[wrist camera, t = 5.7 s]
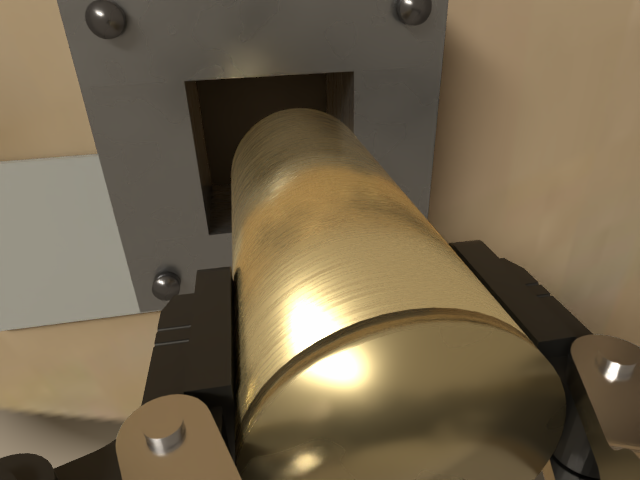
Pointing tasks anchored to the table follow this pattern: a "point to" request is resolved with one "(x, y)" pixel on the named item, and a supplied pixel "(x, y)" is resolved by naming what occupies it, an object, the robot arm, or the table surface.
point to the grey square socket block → (239, 62)
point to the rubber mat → (59, 245)
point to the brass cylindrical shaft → (368, 327)
